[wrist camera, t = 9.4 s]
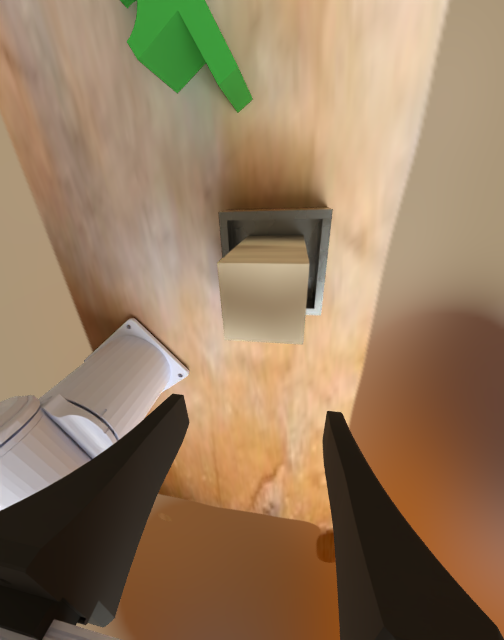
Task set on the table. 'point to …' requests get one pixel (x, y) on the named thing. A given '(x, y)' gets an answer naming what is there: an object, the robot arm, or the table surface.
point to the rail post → (265, 289)
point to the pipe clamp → (185, 46)
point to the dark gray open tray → (285, 223)
